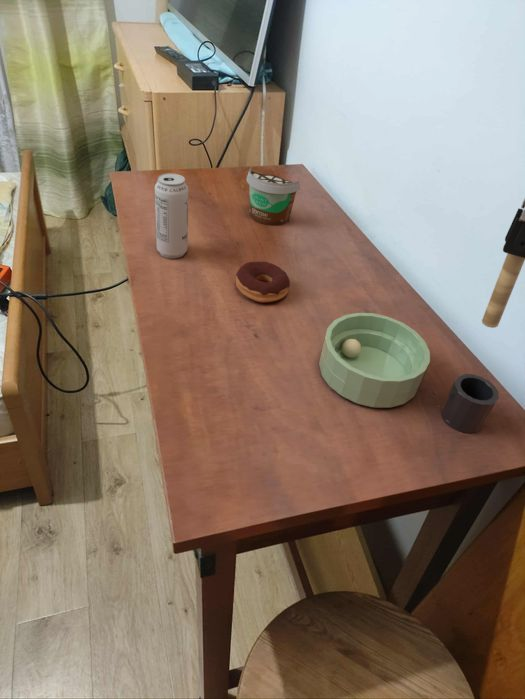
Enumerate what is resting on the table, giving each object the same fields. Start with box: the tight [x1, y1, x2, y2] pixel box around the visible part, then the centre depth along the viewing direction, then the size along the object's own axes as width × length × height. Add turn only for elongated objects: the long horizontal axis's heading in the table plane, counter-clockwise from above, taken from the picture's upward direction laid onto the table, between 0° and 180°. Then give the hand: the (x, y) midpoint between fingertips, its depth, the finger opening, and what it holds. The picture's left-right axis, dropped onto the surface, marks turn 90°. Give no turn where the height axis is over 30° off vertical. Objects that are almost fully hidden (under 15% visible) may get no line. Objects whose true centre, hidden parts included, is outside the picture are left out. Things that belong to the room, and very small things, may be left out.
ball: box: [342, 339, 361, 358], centre depth 81 cm, size 3×3×3 cm
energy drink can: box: [154, 172, 189, 259], centre depth 96 cm, size 6×6×15 cm
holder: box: [440, 373, 500, 434], centre depth 73 cm, size 6×6×6 cm
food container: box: [246, 166, 301, 226], centre depth 113 cm, size 12×6×10 cm, turn 68°
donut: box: [235, 260, 291, 304], centre depth 93 cm, size 10×10×4 cm
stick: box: [481, 253, 525, 329], centre depth 60 cm, size 2×2×16 cm
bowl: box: [318, 312, 431, 409], centre depth 78 cm, size 16×16×6 cm
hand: (517, 248), depth 58 cm, fingers closed on stick, 2 cm apart
